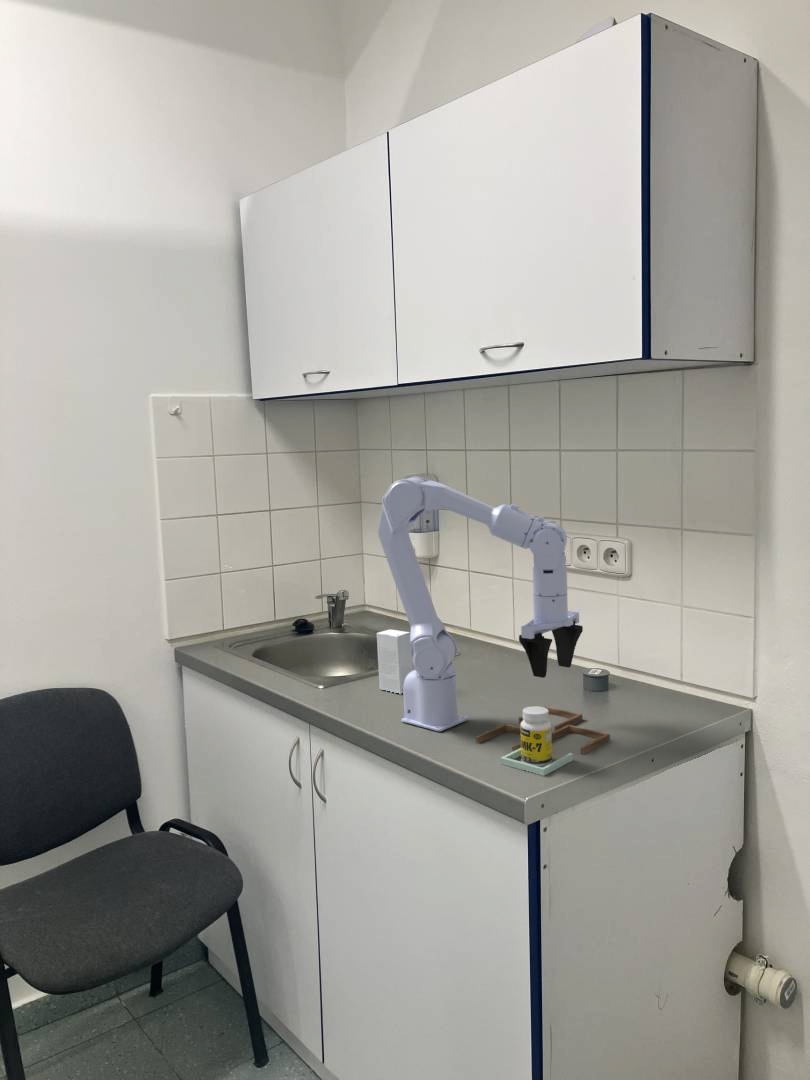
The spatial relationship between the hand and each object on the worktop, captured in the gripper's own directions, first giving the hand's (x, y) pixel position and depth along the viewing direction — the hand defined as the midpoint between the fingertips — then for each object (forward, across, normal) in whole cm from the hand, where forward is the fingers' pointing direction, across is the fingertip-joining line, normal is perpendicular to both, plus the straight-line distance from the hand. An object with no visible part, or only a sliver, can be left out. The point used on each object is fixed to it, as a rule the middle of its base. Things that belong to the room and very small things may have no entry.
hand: (552, 671), depth 152 cm
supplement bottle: (+10, -15, -7) cm, 19 cm away
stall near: (+10, -10, +2) cm, 14 cm away
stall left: (+10, +2, +2) cm, 10 cm away
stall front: (+10, -4, -7) cm, 13 cm away
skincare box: (+10, 0, +38) cm, 39 cm away
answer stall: (+10, -15, -7) cm, 19 cm away
